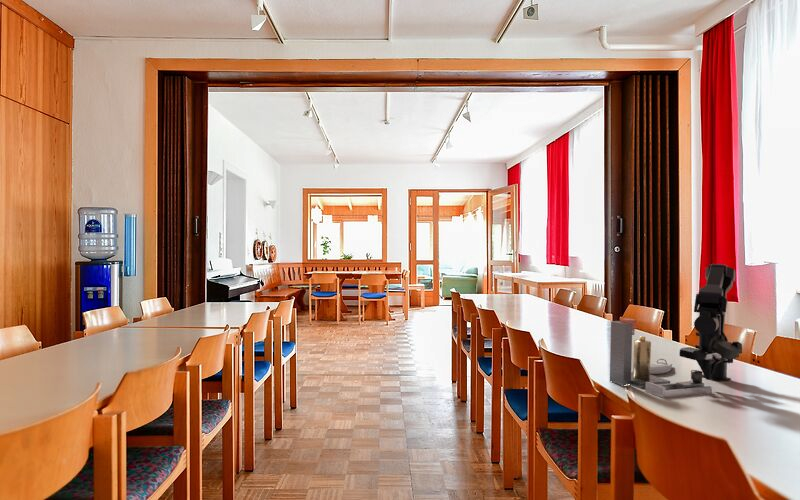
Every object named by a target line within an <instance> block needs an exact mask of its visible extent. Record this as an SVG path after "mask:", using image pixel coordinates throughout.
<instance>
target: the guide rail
mask: <svg viewBox="0 0 800 500" xmlns="http://www.w3.org/2000/svg"><path fill="white" fill-rule="evenodd" d="M644 389H645V391H644V392H646V393H649V394H651V395H654V396H657V397H659V398H662V399H664V398H674V397H683V396H693V395H702V394H711V393H712V392H713V391H712V390H713V387H712V386H710V385H709V386H704V387H696V388H686V389H676V382H670V383H668V384H654V383H651V382H646V384H645V388H644Z"/></svg>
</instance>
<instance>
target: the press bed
mask: <svg viewBox="0 0 800 500" xmlns="http://www.w3.org/2000/svg"><path fill="white" fill-rule="evenodd" d="M636 329H637V319H633V318H630V317H629V318H627V317H625V318H620V320H613V321H612V320H611V321H610V350H609V351H610V353H609V354H610V355H609V358H610V359H609V382H610V381H612V382H611V383H613V382H614V383H613V384H615V383H617V384H616V385H618V384H620V385H623V386H624V385H626V384H630V386H629V387H631V386H633V387H636V388H639V389H645V384H646V382H651V383H654V384H668V383H671V380H668V379H665V378H662V377H658V376H657V375H656V376H655V375H654V374H650V379H638V378H635V377H633V371H632V360H633V359H632V352H633V351H632V350H633V349H632V348H633V347H632V346H633V336H634V335H635V330H636ZM620 385H619V386H620ZM623 386H622V387H623Z"/></svg>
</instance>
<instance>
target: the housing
mask: <svg viewBox="0 0 800 500" xmlns="http://www.w3.org/2000/svg"><path fill="white" fill-rule="evenodd" d="M651 354H652V341H649V340H646V336H644V335H643V336H641V335H640V336H639V339H634V340H633V359H632V360H633V361H632V362H633V363H632V372H633V377H635V378H638V379H650V375H651V374H650V364H651V357H652V356H651Z"/></svg>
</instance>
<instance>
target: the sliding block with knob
mask: <svg viewBox="0 0 800 500" xmlns="http://www.w3.org/2000/svg"><path fill="white" fill-rule="evenodd" d="M702 374H703V372H702V370H699V369H698V370H697V369H692V370H690V380H689V381H680V382H679V381H678V382H677V381H676V382H675V383H676V389H686V388H696V387H705V383H704V382H703V377H702ZM676 389H675V390H676Z"/></svg>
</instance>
